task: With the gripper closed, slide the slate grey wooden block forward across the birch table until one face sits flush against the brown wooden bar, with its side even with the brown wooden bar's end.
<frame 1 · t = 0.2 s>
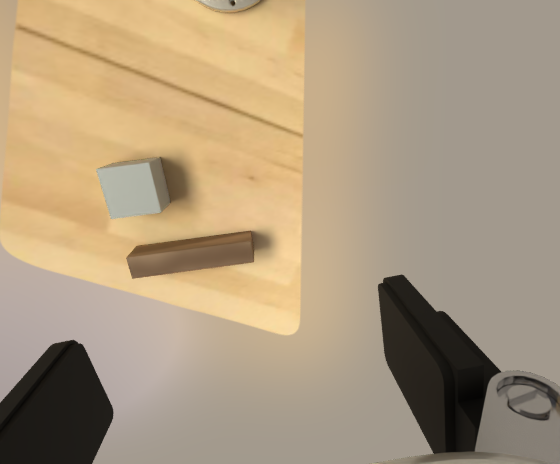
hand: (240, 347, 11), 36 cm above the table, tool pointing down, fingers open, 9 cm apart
block: (142, 182, 44), on the table
brown wooden bar: (196, 248, 48), on the table
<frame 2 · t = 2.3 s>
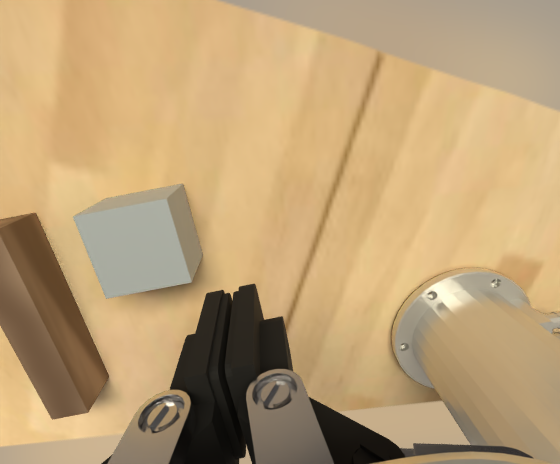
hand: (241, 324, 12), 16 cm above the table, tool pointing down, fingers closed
block: (156, 227, 27), on the table
brown wooden bar: (58, 305, 29), on the table
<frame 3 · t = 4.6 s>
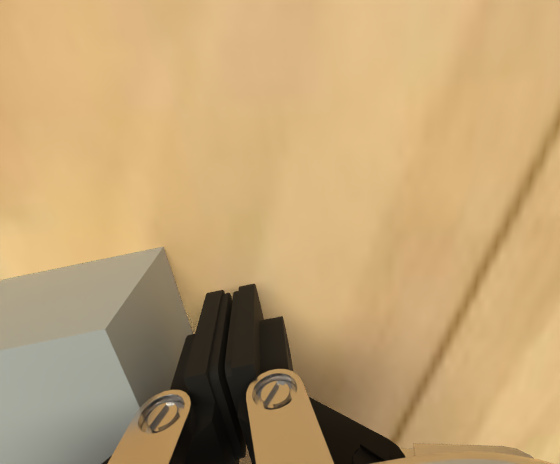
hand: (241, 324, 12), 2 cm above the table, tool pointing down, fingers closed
block: (112, 330, 13), on the table, touching gripper
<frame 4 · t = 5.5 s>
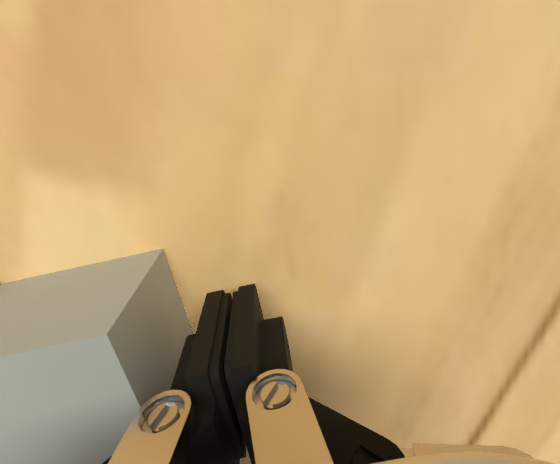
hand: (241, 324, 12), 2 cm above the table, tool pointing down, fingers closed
block: (112, 333, 13), on the table, touching brown wooden bar, gripper
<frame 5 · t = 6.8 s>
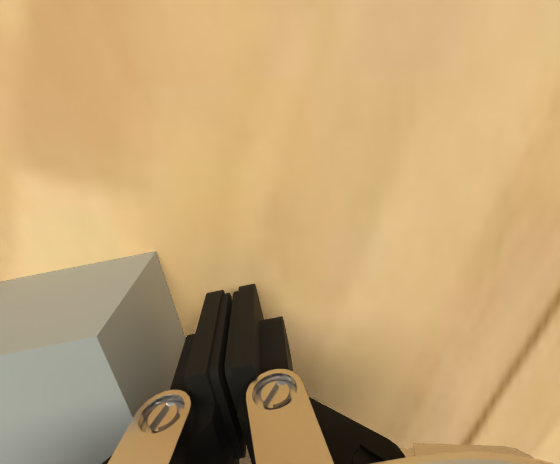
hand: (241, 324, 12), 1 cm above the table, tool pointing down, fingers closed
block: (104, 334, 13), on the table
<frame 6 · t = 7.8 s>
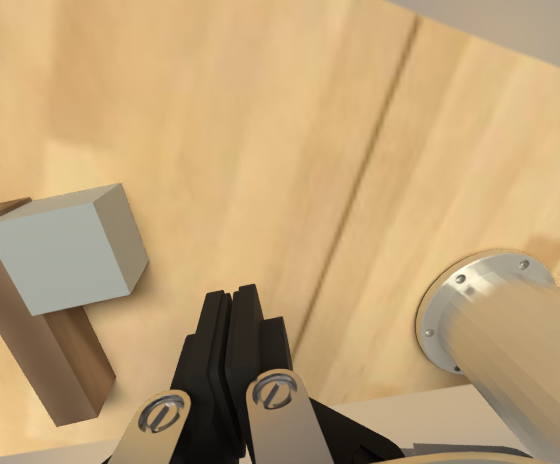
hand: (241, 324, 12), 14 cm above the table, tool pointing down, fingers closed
block: (94, 231, 24), on the table
brown wooden bar: (57, 301, 26), on the table
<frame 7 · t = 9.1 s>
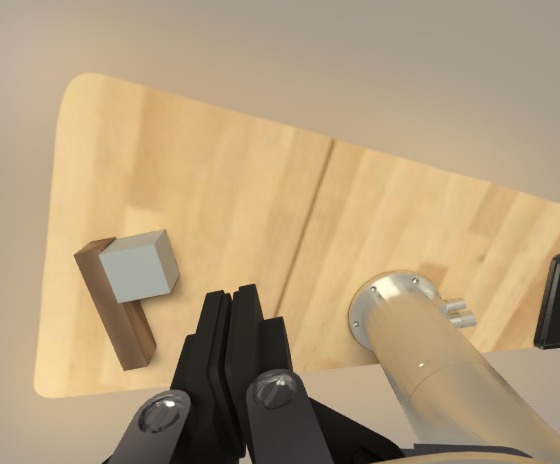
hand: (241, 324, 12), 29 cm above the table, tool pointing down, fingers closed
block: (149, 256, 42), on the table
brown wooden bar: (125, 296, 43), on the table
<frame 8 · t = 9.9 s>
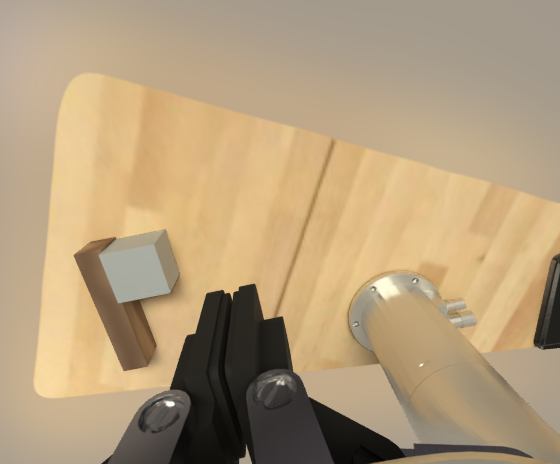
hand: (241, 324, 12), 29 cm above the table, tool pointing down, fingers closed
block: (149, 256, 42), on the table
brown wooden bar: (125, 297, 43), on the table
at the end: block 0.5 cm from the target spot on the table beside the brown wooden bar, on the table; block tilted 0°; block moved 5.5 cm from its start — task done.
